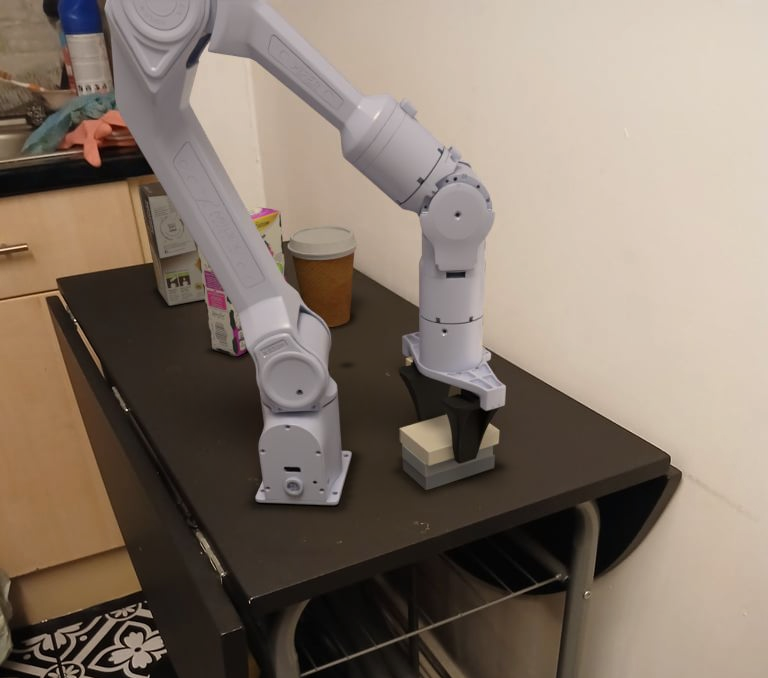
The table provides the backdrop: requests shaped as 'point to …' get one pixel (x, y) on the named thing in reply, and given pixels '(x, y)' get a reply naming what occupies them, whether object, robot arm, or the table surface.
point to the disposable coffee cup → (325, 270)
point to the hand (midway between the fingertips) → (448, 446)
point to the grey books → (445, 468)
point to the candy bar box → (218, 305)
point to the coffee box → (171, 247)
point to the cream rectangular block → (437, 439)
